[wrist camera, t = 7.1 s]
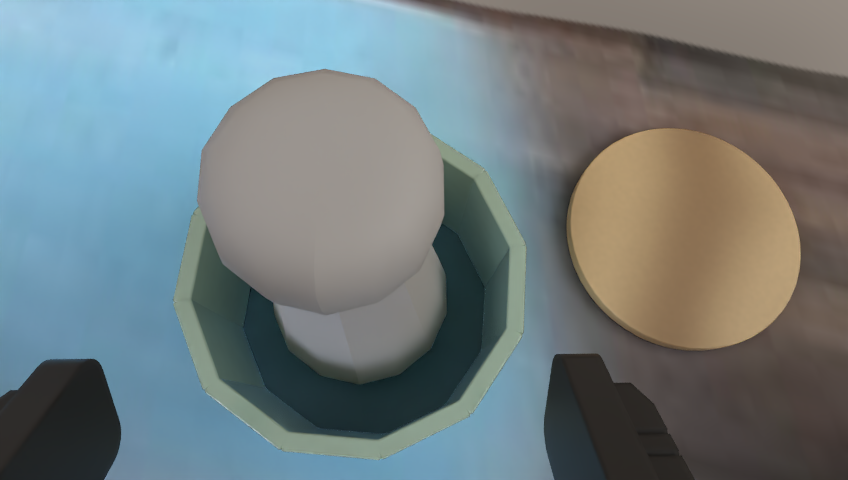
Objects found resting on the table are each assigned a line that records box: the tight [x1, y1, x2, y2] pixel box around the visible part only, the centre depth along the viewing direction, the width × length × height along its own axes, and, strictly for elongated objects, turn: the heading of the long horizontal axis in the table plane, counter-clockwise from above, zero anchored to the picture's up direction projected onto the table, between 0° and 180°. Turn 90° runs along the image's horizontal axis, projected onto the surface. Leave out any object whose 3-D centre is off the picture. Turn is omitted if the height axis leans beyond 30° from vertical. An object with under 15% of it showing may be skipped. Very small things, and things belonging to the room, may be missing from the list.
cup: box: [173, 134, 526, 460], centre depth 19 cm, size 10×10×6 cm
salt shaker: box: [197, 69, 447, 385], centre depth 15 cm, size 6×6×13 cm
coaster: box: [566, 128, 801, 351], centre depth 23 cm, size 9×9×1 cm
